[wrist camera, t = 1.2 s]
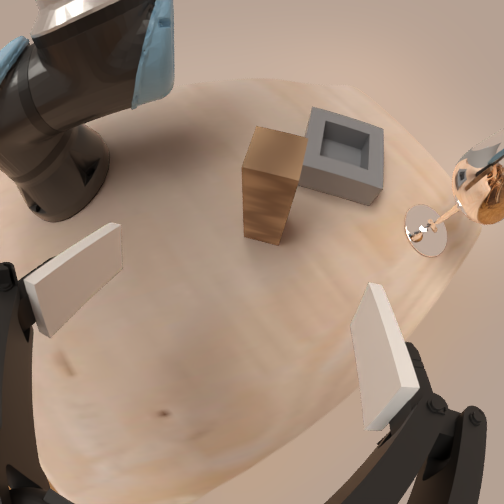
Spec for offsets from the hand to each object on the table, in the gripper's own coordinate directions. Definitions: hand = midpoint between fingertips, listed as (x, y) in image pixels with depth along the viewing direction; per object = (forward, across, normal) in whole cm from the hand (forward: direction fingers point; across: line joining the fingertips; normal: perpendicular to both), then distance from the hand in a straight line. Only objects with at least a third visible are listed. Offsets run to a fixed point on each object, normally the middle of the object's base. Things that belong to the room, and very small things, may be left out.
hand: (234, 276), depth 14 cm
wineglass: (+23, +21, -1) cm, 31 cm away
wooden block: (+19, 0, -4) cm, 19 cm away
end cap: (+27, +7, +4) cm, 28 cm away
